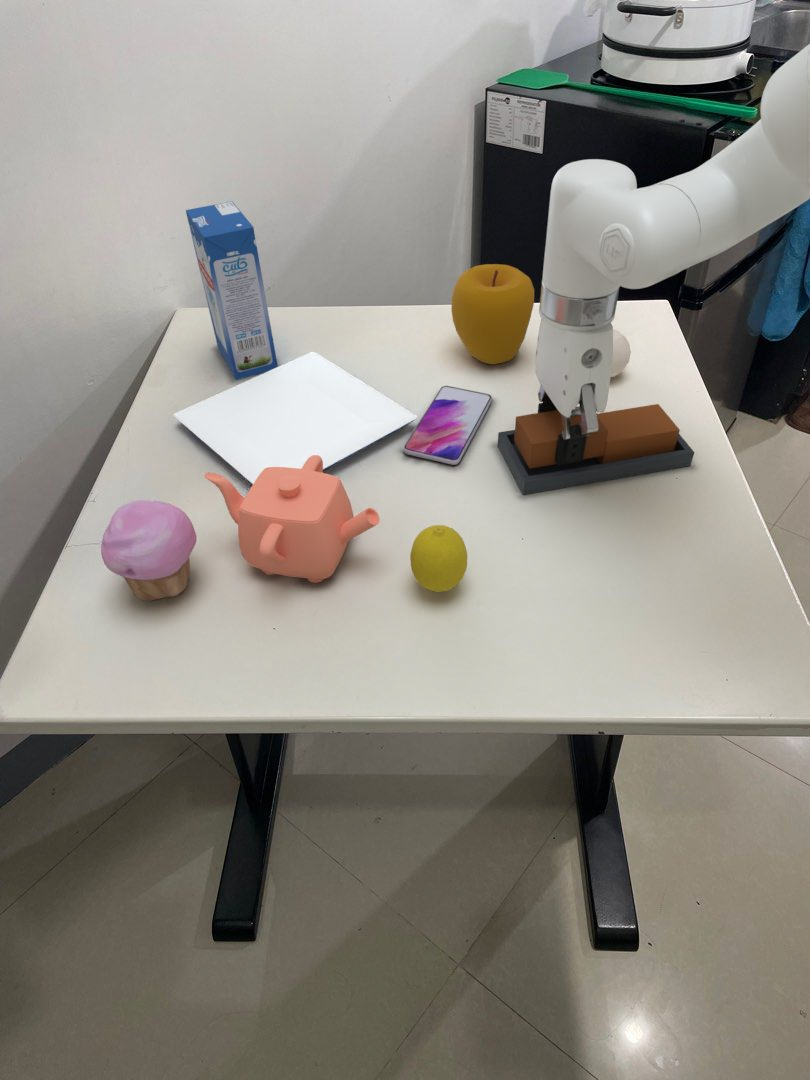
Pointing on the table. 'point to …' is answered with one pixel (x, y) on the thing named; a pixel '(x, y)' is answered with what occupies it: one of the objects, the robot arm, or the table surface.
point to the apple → (492, 311)
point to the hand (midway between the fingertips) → (558, 444)
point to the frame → (585, 467)
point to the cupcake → (150, 548)
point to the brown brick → (551, 437)
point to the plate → (294, 417)
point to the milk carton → (233, 287)
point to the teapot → (294, 520)
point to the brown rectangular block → (637, 433)
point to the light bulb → (619, 353)
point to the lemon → (438, 558)
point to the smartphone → (448, 425)
